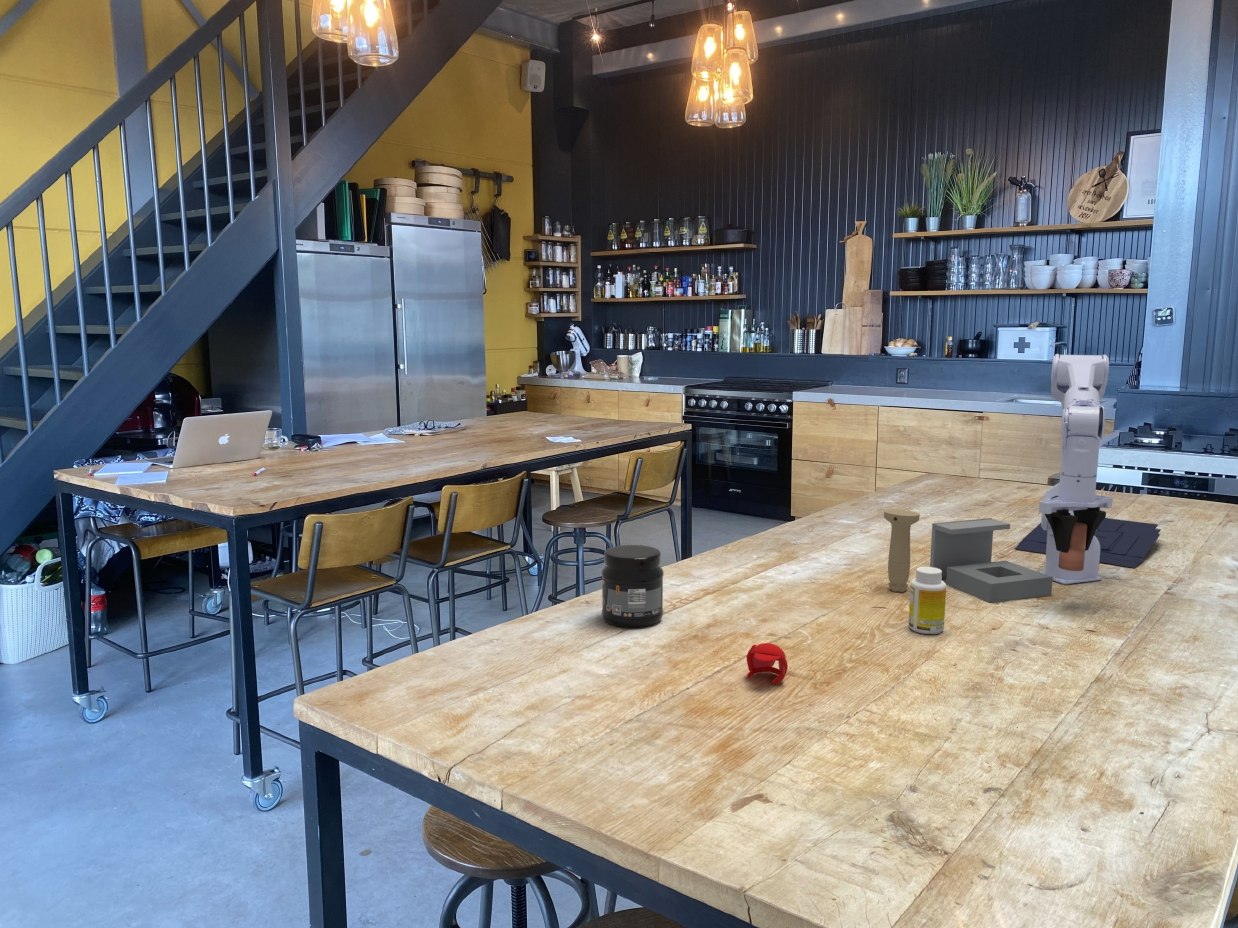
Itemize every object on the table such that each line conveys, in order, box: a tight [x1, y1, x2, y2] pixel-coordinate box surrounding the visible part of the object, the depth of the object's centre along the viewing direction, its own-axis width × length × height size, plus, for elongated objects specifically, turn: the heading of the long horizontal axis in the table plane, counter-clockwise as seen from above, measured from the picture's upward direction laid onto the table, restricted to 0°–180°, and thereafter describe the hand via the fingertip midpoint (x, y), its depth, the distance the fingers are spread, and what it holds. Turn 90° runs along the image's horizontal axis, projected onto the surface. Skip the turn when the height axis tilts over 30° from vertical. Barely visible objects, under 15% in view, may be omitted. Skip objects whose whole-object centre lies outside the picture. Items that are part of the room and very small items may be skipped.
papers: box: [1014, 517, 1162, 569], centre depth 205 cm, size 24×30×4 cm
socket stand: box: [929, 517, 1053, 604], centre depth 174 cm, size 14×17×11 cm
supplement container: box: [601, 544, 665, 629], centre depth 155 cm, size 10×10×12 cm
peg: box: [1058, 522, 1087, 571], centre depth 161 cm, size 4×4×8 cm
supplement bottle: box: [908, 566, 947, 635], centre depth 150 cm, size 6×6×10 cm
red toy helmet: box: [746, 642, 789, 685], centre depth 130 cm, size 7×6×6 cm
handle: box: [883, 508, 920, 593], centre depth 171 cm, size 5×6×15 cm
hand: (1072, 550), depth 161 cm, fingers closed on peg, 4 cm apart
